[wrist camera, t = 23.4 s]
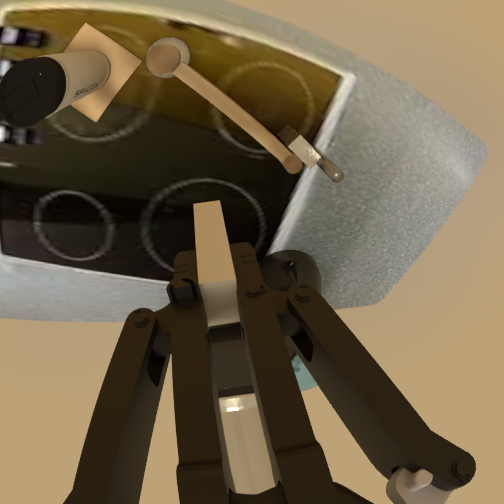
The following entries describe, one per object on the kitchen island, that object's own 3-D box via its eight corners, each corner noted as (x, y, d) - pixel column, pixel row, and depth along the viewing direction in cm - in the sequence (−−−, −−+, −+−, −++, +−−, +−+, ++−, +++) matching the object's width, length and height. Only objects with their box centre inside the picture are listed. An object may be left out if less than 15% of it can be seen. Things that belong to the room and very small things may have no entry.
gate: (279, 163, 46) (293, 184, 41) (148, 60, 33) (139, 62, 27) (295, 147, 45) (312, 166, 39) (166, 40, 32) (160, 38, 26)
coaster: (97, 121, 38) (96, 122, 37) (44, 85, 32) (42, 86, 32) (142, 61, 34) (142, 61, 34) (86, 23, 28) (85, 22, 28)
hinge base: (170, 85, 37) (169, 86, 36) (137, 61, 34) (136, 62, 33) (199, 54, 35) (199, 54, 34) (166, 29, 32) (166, 29, 31)
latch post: (303, 160, 48) (330, 191, 40) (276, 134, 45) (299, 159, 36) (316, 148, 47) (346, 176, 39) (290, 121, 44) (316, 143, 35)
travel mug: (63, 64, 31) (-16, 86, 15) (103, 43, 31) (39, 44, 15) (76, 100, 35) (7, 143, 19) (116, 80, 34) (63, 108, 19)
